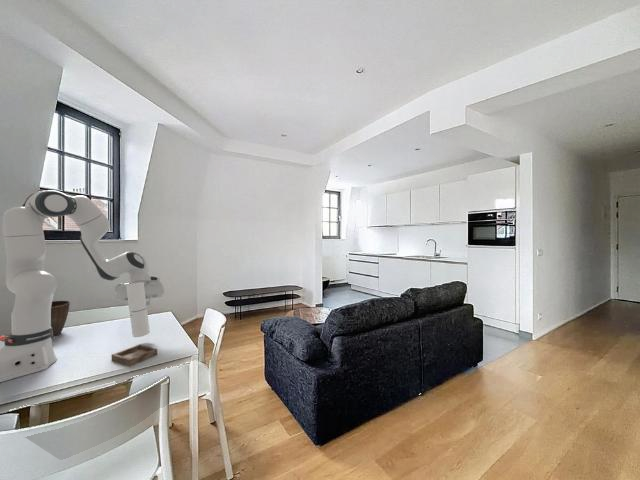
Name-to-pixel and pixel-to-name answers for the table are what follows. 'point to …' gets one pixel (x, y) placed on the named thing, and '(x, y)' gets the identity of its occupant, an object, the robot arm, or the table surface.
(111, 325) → the table surface
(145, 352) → the wooden serving tray
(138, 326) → the cylindrical container
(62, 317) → the plant pot
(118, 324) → the table surface
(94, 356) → the table surface
